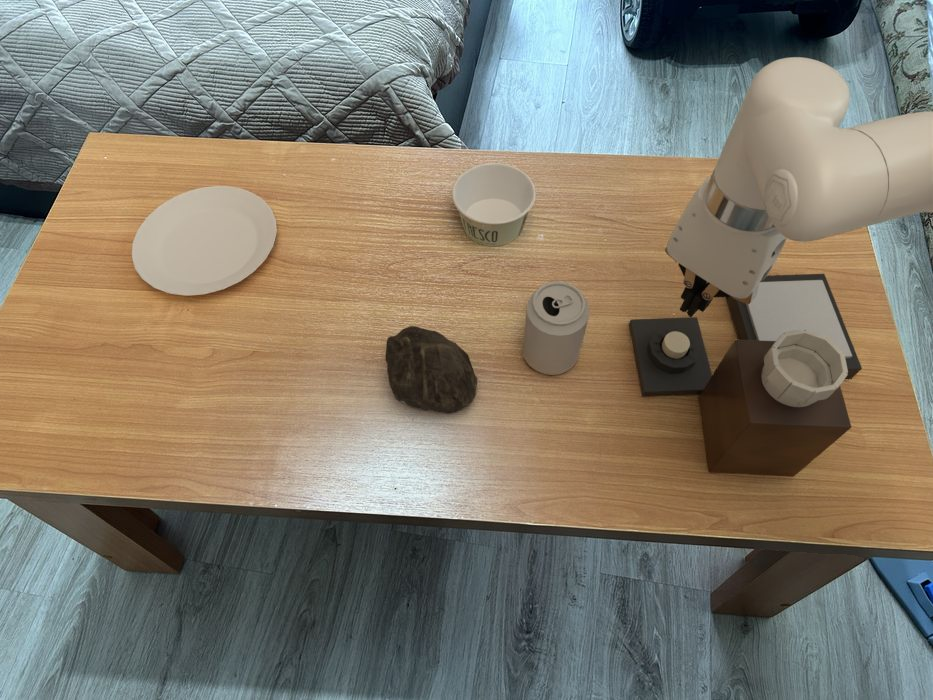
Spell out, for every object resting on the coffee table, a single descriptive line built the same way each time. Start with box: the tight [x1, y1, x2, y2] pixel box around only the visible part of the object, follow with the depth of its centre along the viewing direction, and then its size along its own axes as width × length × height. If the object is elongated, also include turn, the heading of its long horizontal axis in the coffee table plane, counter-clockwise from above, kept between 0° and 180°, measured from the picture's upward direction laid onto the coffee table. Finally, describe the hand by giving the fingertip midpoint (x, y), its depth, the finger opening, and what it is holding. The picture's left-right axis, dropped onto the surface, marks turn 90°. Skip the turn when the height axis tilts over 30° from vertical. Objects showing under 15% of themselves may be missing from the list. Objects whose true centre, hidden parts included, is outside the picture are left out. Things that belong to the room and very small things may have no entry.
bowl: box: [761, 329, 848, 407], centre depth 66 cm, size 7×7×4 cm
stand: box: [697, 339, 852, 477], centre depth 74 cm, size 10×10×14 cm
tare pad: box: [628, 316, 713, 398], centre depth 84 cm, size 11×9×3 cm
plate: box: [131, 185, 278, 297], centre depth 96 cm, size 21×21×2 cm
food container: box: [451, 162, 537, 247], centre depth 96 cm, size 12×12×6 cm
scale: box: [725, 273, 863, 380], centre depth 86 cm, size 15×13×3 cm
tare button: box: [662, 331, 690, 359], centre depth 83 cm, size 3×3×2 cm
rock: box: [384, 325, 479, 415], centre depth 80 cm, size 10×11×10 cm
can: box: [521, 280, 590, 376], centre depth 81 cm, size 8×8×12 cm
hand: (692, 306), depth 76 cm, fingers closed
